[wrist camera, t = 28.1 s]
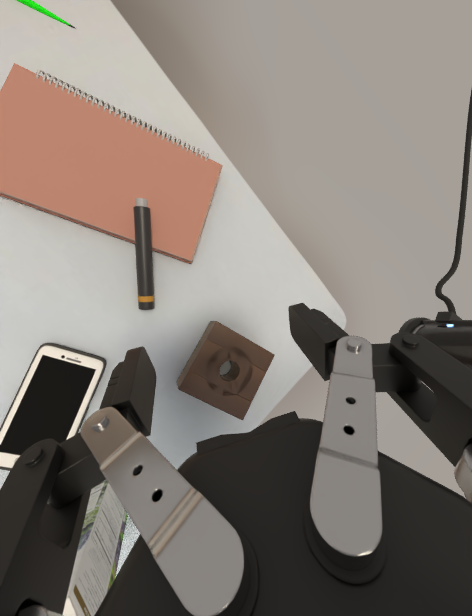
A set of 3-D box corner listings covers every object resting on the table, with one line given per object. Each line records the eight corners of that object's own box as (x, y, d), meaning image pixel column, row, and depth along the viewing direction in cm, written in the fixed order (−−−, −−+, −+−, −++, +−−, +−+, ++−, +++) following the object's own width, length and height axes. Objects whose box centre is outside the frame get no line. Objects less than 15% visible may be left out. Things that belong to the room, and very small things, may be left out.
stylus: (137, 196, 29) (143, 310, 31) (153, 199, 30) (157, 308, 33) (129, 198, 30) (135, 308, 33) (145, 202, 31) (149, 306, 34)
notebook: (221, 166, 38) (225, 158, 36) (190, 264, 36) (192, 261, 34) (25, 70, 31) (16, 53, 29) (-30, 185, 28) (-44, 175, 27)
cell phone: (-13, 462, 27) (-19, 467, 26) (44, 340, 30) (41, 340, 29) (60, 474, 29) (57, 479, 28) (109, 359, 32) (107, 360, 31)
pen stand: (210, 321, 36) (216, 321, 32) (263, 351, 38) (274, 354, 35) (176, 381, 34) (178, 389, 30) (234, 410, 37) (242, 420, 33)
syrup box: (82, 543, 30) (12, 735, 16) (62, 501, 29) (-27, 661, 16) (128, 514, 31) (101, 665, 18) (109, 474, 31) (68, 597, 17)
